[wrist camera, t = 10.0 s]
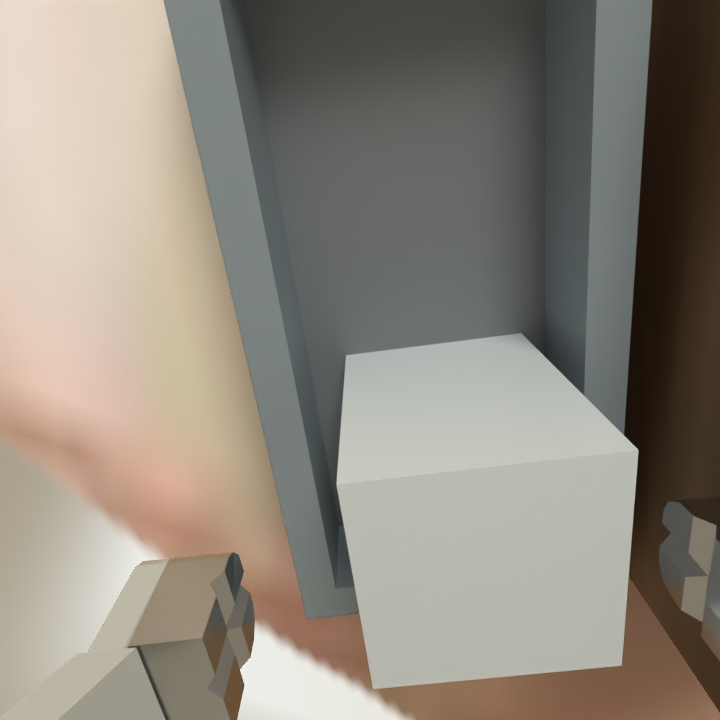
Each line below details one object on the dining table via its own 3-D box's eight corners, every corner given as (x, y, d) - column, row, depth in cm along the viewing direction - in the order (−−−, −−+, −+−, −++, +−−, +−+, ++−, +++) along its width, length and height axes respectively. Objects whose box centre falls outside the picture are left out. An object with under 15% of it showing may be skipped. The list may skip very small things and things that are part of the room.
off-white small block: (521, 332, 11) (638, 450, 6) (523, 481, 13) (621, 665, 8) (346, 355, 11) (336, 484, 7) (368, 499, 13) (372, 689, 8)
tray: (584, -150, 8) (670, -274, 6) (569, 515, 13) (614, 587, 11) (186, -82, 9) (122, -174, 6) (315, 542, 14) (306, 618, 11)
